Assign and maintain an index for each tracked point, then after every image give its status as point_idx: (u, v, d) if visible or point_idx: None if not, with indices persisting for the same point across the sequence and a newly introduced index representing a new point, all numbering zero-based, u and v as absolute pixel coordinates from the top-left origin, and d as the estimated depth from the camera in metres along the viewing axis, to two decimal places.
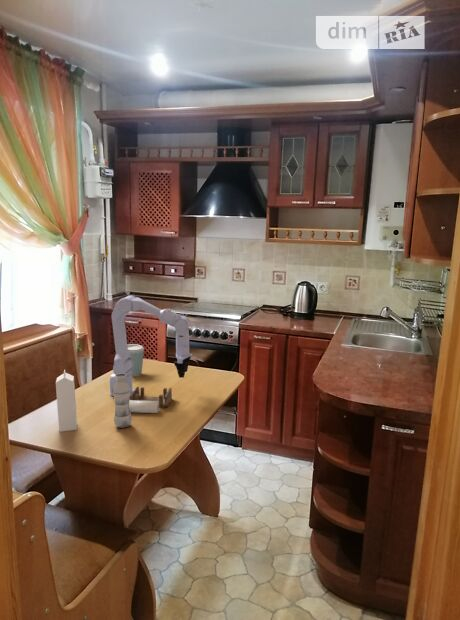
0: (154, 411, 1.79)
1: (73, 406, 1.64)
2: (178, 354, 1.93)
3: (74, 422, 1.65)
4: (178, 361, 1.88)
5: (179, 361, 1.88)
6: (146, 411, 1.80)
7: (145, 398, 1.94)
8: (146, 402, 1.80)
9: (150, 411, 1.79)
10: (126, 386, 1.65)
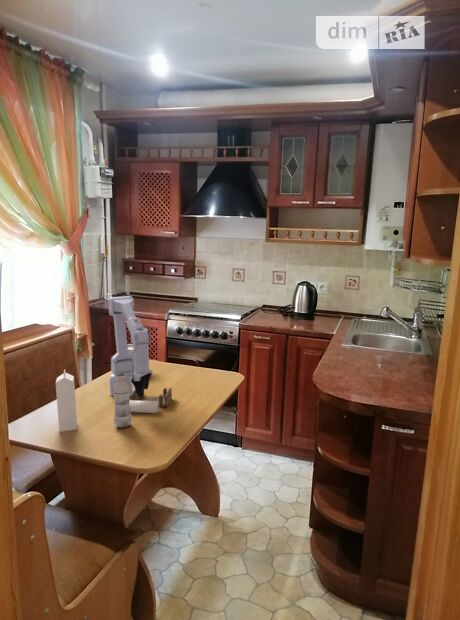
0: (154, 411, 1.79)
1: (73, 406, 1.64)
2: (136, 370, 1.76)
3: (74, 422, 1.65)
4: (135, 379, 1.72)
5: (136, 379, 1.72)
6: (146, 411, 1.80)
7: (145, 398, 1.94)
8: (146, 402, 1.80)
9: (150, 411, 1.79)
10: (126, 386, 1.65)
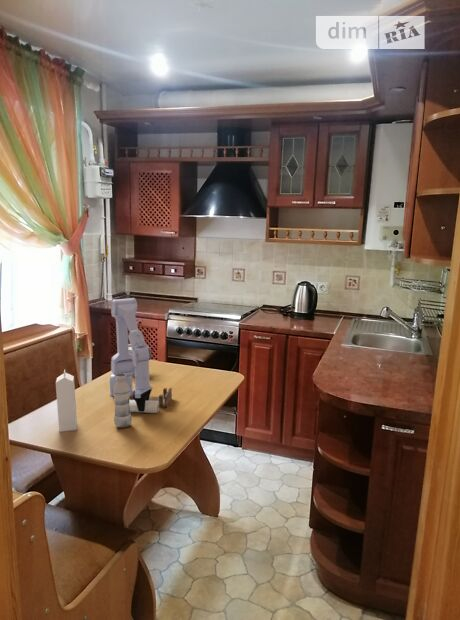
0: (154, 411, 1.79)
1: (73, 406, 1.64)
2: (137, 387, 1.78)
3: (74, 422, 1.65)
4: (136, 396, 1.73)
5: (137, 396, 1.73)
6: (146, 411, 1.80)
7: None
8: (146, 402, 1.80)
9: (150, 411, 1.79)
10: (126, 386, 1.65)
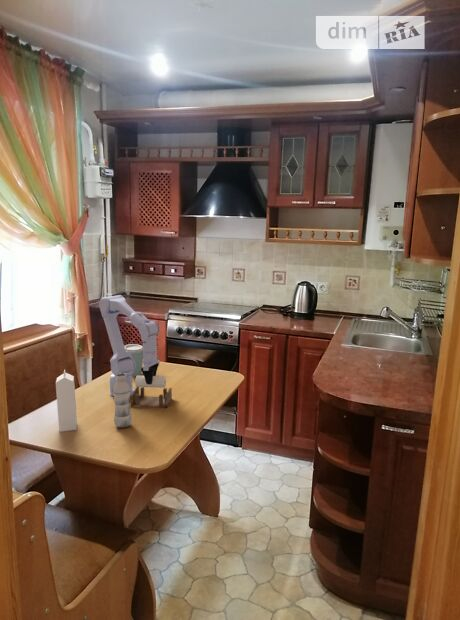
0: (161, 384, 1.87)
1: (73, 406, 1.64)
2: (145, 361, 1.85)
3: (74, 422, 1.65)
4: (144, 368, 1.81)
5: (145, 368, 1.81)
6: (153, 385, 1.87)
7: (145, 398, 1.94)
8: (154, 376, 1.88)
9: (157, 385, 1.87)
10: (126, 386, 1.65)
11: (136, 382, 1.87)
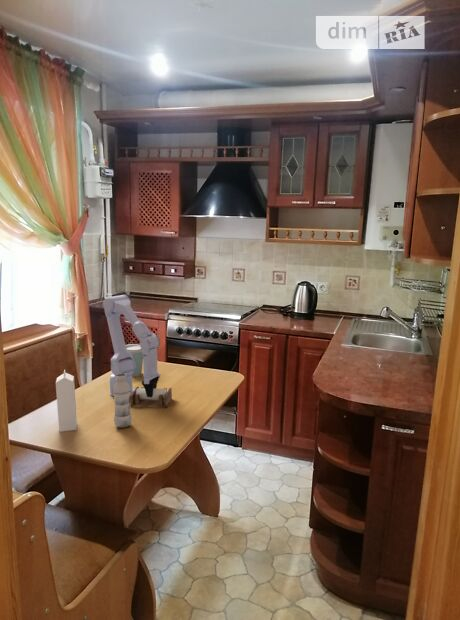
0: None
1: (73, 406, 1.64)
2: (145, 374, 1.86)
3: (74, 422, 1.65)
4: (145, 382, 1.82)
5: (146, 382, 1.82)
6: (154, 397, 1.88)
7: None
8: (154, 389, 1.89)
9: (158, 397, 1.88)
10: (126, 386, 1.65)
11: None
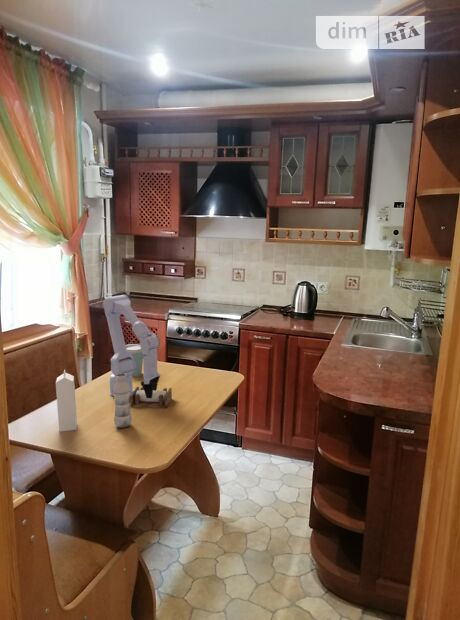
0: None
1: (73, 406, 1.64)
2: (145, 374, 1.86)
3: (74, 422, 1.65)
4: (145, 382, 1.82)
5: (146, 382, 1.82)
6: (154, 400, 1.88)
7: None
8: (154, 392, 1.89)
9: (158, 400, 1.88)
10: (126, 386, 1.65)
11: None
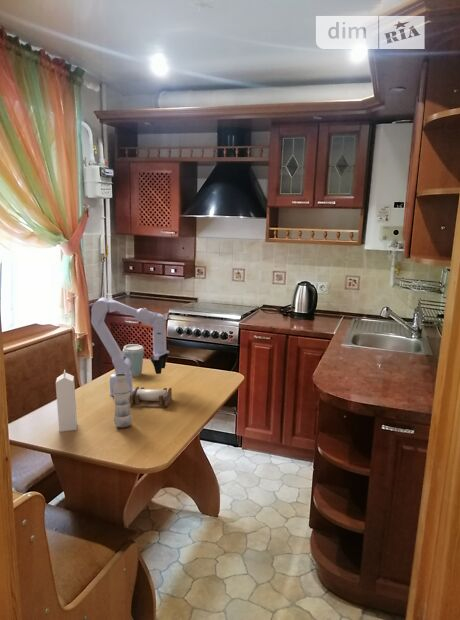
0: None
1: (73, 406, 1.64)
2: (155, 351, 1.98)
3: (74, 422, 1.65)
4: (154, 358, 1.93)
5: (155, 358, 1.93)
6: (154, 398, 1.89)
7: None
8: (155, 390, 1.91)
9: (158, 397, 1.89)
10: (126, 386, 1.65)
11: None
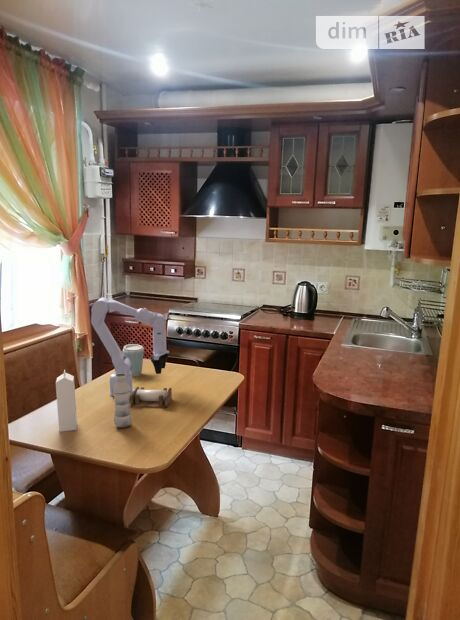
0: None
1: (73, 406, 1.64)
2: (155, 351, 1.98)
3: (74, 422, 1.65)
4: (154, 358, 1.93)
5: (155, 358, 1.93)
6: (154, 399, 1.88)
7: None
8: (155, 390, 1.90)
9: (158, 399, 1.88)
10: (126, 386, 1.65)
11: None
